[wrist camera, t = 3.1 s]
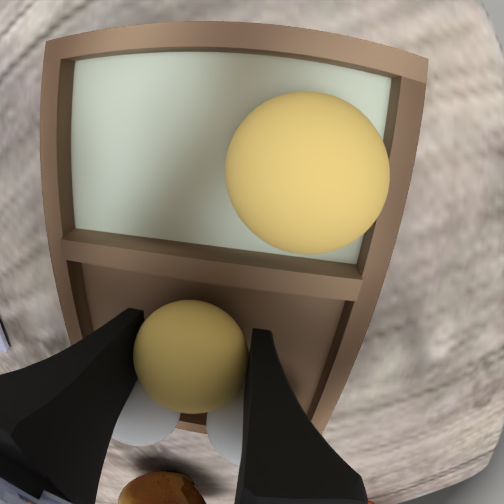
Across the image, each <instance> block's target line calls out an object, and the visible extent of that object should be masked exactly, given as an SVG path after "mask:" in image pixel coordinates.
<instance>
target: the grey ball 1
mask: <svg viewBox="0 0 504 504" xmlns="http://www.w3.org/2000/svg"><path fill="white" fill-rule="evenodd" d="M180 414H181V412H177V411H174V410H171V409H169V408H166V407H164V406H163V405H161V404H159V403H158V402H156V401H155V400H154V399H153V398H152V397H151V396H150V395H149V394H148V393H147V392H146V391H145V389H144V388H143V386H142V385H141V383H140V381H139V379H137V381H136V383H135V385H134V387H133V389H132V391H131V393H130V395H129V397H128V399H127V401H126V403H125V405H124V407H123V409H122V411H121V413H120V416H119V418H118V420H117V422H116V425H115V428H114V431H113V434H112V438H114V439H116V440H117V441H119V442H121V443H124V444H127V445H132V446H148V445H152V444H155V443H157V442H160V441H161V440H163V439H165V438H166V437H167V436H168V435H169V434H170V433H171V432H172V431H173V430H174V428H175V427H176V425H177V423H178V421H179V418H180Z"/></svg>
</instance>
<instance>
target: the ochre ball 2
mask: <svg viewBox="0 0 504 504" xmlns="http://www.w3.org/2000/svg"><path fill="white" fill-rule="evenodd" d="M225 179H226V186H227V190H228V194H229V198H230V200H231V203H232V205H233V208H234V209H235V211H236V213H237V215H238V216H239V218H240V219H241V220H242V222H243V223H244V224H245V225H246V226H247V227H248V229H249V230H250V231H251V232H252V233H254V234H255V235H256V236H257V237H259V238H260V239H261V240H263V241H264V242H266V243H268V244H269V245H271V246H273V247H275V248H278V249H280V250H283V251H287V252H291V253H296V254H306V255H311V254H322V253H328V252H331V251H334V250H338V249H340V248H342V247H345V246H347V245H348V244H350V243H352V242H353V241H355V240H356V239H358V238H359V237H360V236H362V235H363V234H364V233H365V232H366V231H367V230H368V229H369V228H370V227H371V226H372V224H373V223H374V222H375V220H376V219H377V217H378V216H379V214H380V212H381V211H382V208H383V206H384V204H385V201H386V198H387V194H388V189H389V182H390V167H389V159H388V155H387V151H386V148H385V145H384V143H383V140H382V138H381V136H380V135H379V133H378V131H377V130H376V128H375V127H374V126H373V124H372V123H371V122H370V120H369V119H368V118H367V117H366V116H365V115H364V114H363V113H362V112H361V111H360V110H358V109H357V108H356V107H354V106H353V105H352V104H350V103H348V102H346V101H344V100H343V99H341V98H338V97H335V96H333V95H330V94H326V93H321V92H313V91H297V92H291V93H286V94H282V95H279V96H276V97H274V98H272V99H270V100H268V101H265V102H264V103H262V104H261V105H259V106H258V107H256V108H255V109H254V110H253V111H252V112H251V113H250V114H248V116H247V117H246V118H245V119H244V120H243V121H242V123H241V124H240V125H239V127H238V128H237V130H236V131H235V133H234V135H233V137H232V140H231V142H230V144H229V148H228V151H227V156H226V162H225Z"/></svg>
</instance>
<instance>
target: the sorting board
mask: <svg viewBox="0 0 504 504" xmlns="http://www.w3.org/2000/svg"><path fill="white" fill-rule="evenodd" d="M427 71H428V59H427V58H424V57H421V56H418V55H415V54H412V53H409V52H406V51H403V50H400V49H396V48H393V47H389V46H386V45H382V44H378V43H374V42H370V41H366V40H362V39H358V38H354V37H349V36H344V35H339V34H334V33H329V32H323V31H318V30H311V29H305V28H298V27H290V26H282V25H272V24H261V23H247V22H224V21H188V22H165V23H151V24H140V25H131V26H123V27H115V28H109V29H102V30H96V31H91V32H85V33H80V34H75V35H70V36H66V37H62V38H57V39H53V40H49V41H46V46H45V54H44V63H43V73H42V86H41V104H40V161H41V180H42V193H43V204H44V213H45V222H46V230H47V237H48V243H49V250H50V256H51V262H52V267H53V272H54V277H55V282H56V287H57V292H58V296H59V301H60V305H61V309H62V313H63V317H64V321H65V325H66V328H67V332H68V335H69V339H70V342H71V346H72V345H73V344H75V343H77V342H78V341H80V340H82V339H83V338H85V337H86V336H88V335H90V334H91V333H93V332H94V331H95V330H97V329H98V328H100V327H101V326H103V325H104V324H106V323H107V322H109V321H110V320H111V319H113V318H114V317H116V316H117V315H118V314H120V313H121V312H123V311H124V310H126V309H127V308H134V309H139V310H144V319H145V320H146V319H147V318H148V317H149V316H150V315H151V314H152V313H153V312H154V311H156V310H157V309H159V308H161V307H162V306H164V305H166V304H169V303H172V302H175V301H180V300H199V301H204V302H207V303H210V304H212V305H215V306H217V307H219V308H220V309H222V310H223V311H225V312H226V313H227V314H229V315H230V316H231V317H232V318H233V319H234V320H235V322H236V323H237V324H238V326H239V327H240V329H241V330H242V332H243V334H244V336H245V339H246V342H247V345H248V352H249V351H250V344H251V337H252V329H253V328H257V329H265V330H270V331H271V332H272V333H273V340H274V344H275V348H276V351H277V354H278V357H279V360H280V363H281V366H282V368H283V370H284V373H285V375H286V378H287V380H288V382H289V384H290V386H291V388H292V390H293V392H294V394H295V396H296V398H297V400H298V402H299V403H300V405H301V407H302V408H303V410H304V412H305V413H306V415H307V416H308V418H309V419H310V421H311V422H312V424H313V425H314V426H315V428H316V429H317V430H318V431H319V433H320V434H321V435H322V433H323V431H324V429H325V427H326V425H327V423H328V421H329V419H330V416H331V414H332V412H333V410H334V408H335V406H336V404H337V401H338V399H339V397H340V395H341V393H342V390H343V388H344V386H345V383H346V381H347V379H348V376H349V374H350V372H351V369H352V367H353V364H354V362H355V360H356V357H357V355H358V352H359V350H360V347H361V344H362V342H363V339H364V337H365V334H366V331H367V329H368V326H369V323H370V320H371V318H372V315H373V312H374V309H375V306H376V303H377V300H378V297H379V294H380V291H381V288H382V285H383V282H384V279H385V276H386V273H387V269H388V266H389V263H390V259H391V256H392V252H393V249H394V245H395V242H396V238H397V235H398V231H399V227H400V223H401V219H402V215H403V211H404V207H405V203H406V199H407V194H408V190H409V185H410V181H411V176H412V171H413V166H414V161H415V156H416V150H417V145H418V139H419V133H420V127H421V120H422V113H423V106H424V98H425V90H426V81H427ZM297 91H313V92H321V93H326V94H330V95H333V96H335V97H338V98H341V99H343V100H344V101H346V102H348V103H350V104H352V105H353V106H354V107H356V108H357V109H358V110H360V111H361V112H362V113H363V114H364V115H365V116H366V117H367V118H368V119H369V120H370V122H371V123H372V124H373V126H374V127H375V128H376V130H377V131H378V133H379V135H380V136H381V138H382V140H383V143H384V145H385V148H386V151H387V155H388V159H389V167H390V182H389V189H388V194H387V198H386V201H385V204H384V206H383V208H382V211H381V212H380V214H379V216H378V217H377V219H376V220H375V222H374V223H373V224H372V226H371V227H370V228H369V229H368V230H367V231H366V232H365V233H364V234H363V235H362V236H360V237H359V238H358V239H356V240H355V241H353V242H352V243H350V244H348V245H347V246H345V247H342V248H340V249H338V250H334V251H331V252H328V253H322V254H311V255H306V254H296V253H291V252H287V251H283V250H280V249H278V248H275V247H273V246H271V245H269V244H268V243H266V242H264V241H263V240H261V239H260V238H259V237H257V236H256V235H255V234H254V233H252V232H251V231H250V230H249V229H248V227H247V226H246V225H245V224H244V223H243V222H242V220H241V219H240V218H239V216H238V215H237V213H236V211H235V209H234V208H233V205H232V203H231V200H230V198H229V194H228V190H227V186H226V179H225V162H226V156H227V151H228V148H229V144H230V142H231V140H232V137H233V135H234V133H235V131H236V130H237V128H238V127H239V125H240V124H241V123H242V121H243V120H244V119H245V118H246V117H247V116H248V114H250V113H251V112H252V111H253V110H254V109H255V108H256V107H258V106H259V105H261V104H262V103H264V102H265V101H268V100H270V99H272V98H274V97H276V96H279V95H282V94H286V93H291V92H297ZM245 379H246V378H245ZM207 414H208V412H205V413H197V414H188V413H181V414H180V418H179V421H178V423H177V425H176V427H175V428H178V429H183V430H188V431H193V432H198V433H204V434H208V433H207V428H206V420H207Z"/></svg>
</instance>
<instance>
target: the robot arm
mask: <svg viewBox="0 0 504 504" xmlns="http://www.w3.org/2000/svg"><path fill="white" fill-rule="evenodd" d="M144 321H145V319H144V310H139V309H134V308H127V309H126V310H124V311H123V312H121V313H120V314H118V315H117V316H116V317H114V318H113V319H111V320H110V321H109V322H107V323H106V324H104V325H103V326H101V327H100V328H98V329H97V330H95V331H94V332H93V333H91V334H90V335H88V336H86V337H85V338H83V339H82V340H80V341H78V342H77V343H75V344H73V345H72V346H70V347H69V348H67V349H65V350H63V351H61V352H59V353H57V354H55V355H53V356H51V357H49V358H47V359H45V360H43V361H40V362H38V363H35V364H32V365H30V366H27V367H25V368H22V369H19V370H16V371H13V372H9V373H5V374H2V375H0V504H28V503H27V502H29V503H31V504H95V500H96V495H97V489H98V484H99V480H100V475H101V471H102V467H103V463H104V460H105V456H106V453H107V449H108V446H109V443H110V440H111V437H112V434H113V431H114V428H115V425H116V422H117V420H118V418H119V416H120V413H121V411H122V409H123V407H124V405H125V403H126V401H127V399H128V397H129V395H130V393H131V391H132V389H133V387H134V385H135V383H136V381H137V379H138V377H137V374H136V371H135V368H134V361H133V349H134V343H135V339H136V336H137V333H138V331H139V329H140V327H141V326H142V324H143V323H144ZM8 350H9V345H8V343H7V340H6V338H5V335H4V332H3V330H2V327H1V324H0V351H1V352H4V353H6V352H7V351H8ZM26 501H27V502H26ZM234 504H368V499H367V494H366V490H365V487H364V484H363V481H362V478H361V476H360V475H359V474H358V473H357V472H356V471H355V470H353V469H352V468H351V467H350V466H349V465H348V464H347V463H346V462H345V461H344V460H343V459H342V458H341V457H340V456H339V455H338V454H337V453H336V452H335V451H334V450H333V449H332V447H331V446H330V445H329V444H328V443H327V442H326V440H325V439H324V438H323V437H322V435H321V434H320V433H319V431H318V430H317V429H316V428H315V426H314V425H313V424H312V422H311V421H310V419H309V418H308V416H307V415H306V413H305V412H304V410H303V408H302V407H301V405H300V403H299V402H298V400H297V398H296V396H295V394H294V392H293V390H292V388H291V386H290V384H289V382H288V380H287V378H286V375H285V373H284V370H283V368H282V366H281V363H280V360H279V357H278V354H277V351H276V348H275V344H274V340H273V333H272V332H271V331H270V330H265V329H257V328H253V329H252V337H251V344H250V351H249V359H248V369H247V375H246V380H245V387H244V404H243V438H242V453H241V461H240V468H239V475H238V482H237V489H236V496H235V503H234Z"/></svg>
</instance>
